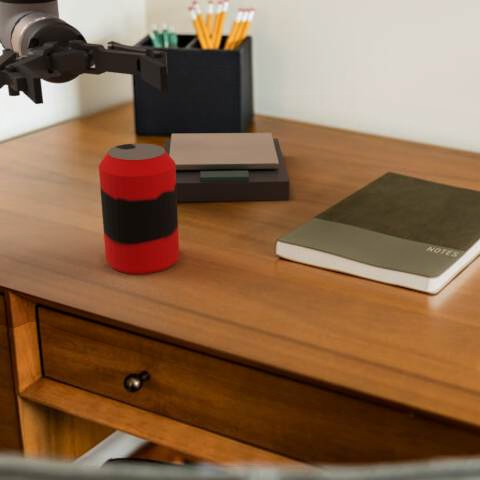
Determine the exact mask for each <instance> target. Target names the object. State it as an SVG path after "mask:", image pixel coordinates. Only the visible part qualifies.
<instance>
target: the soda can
mask: <svg viewBox="0 0 480 480" xmlns="http://www.w3.org/2000/svg"><path fill="white" fill-rule="evenodd" d="M98 174H99V175H98V177H99V189H100V202H101V213H102V225H103V228H102V229H103V240H104V252H105V253H104V255H105V262H106V264H108V265H109V266H110V267H111V268H112V269H113V270H116V271H117V272H119V273H120V272H121V273H124V274H133V275H146V274H153V273H158V272H161V271H162V272H163V271H164V270H167V269H169V268H171V267H172V266H174V265H175V263H176V262H177V261H178V260H179V258H180V237H179V217H178V216H179V215H178V202H177V190H176V167H175V161H174V160H173V159H172V158H171V157H170V156H169V155H168V153H167V152H166V151H165V149H164V146H160V145H158V144H153V143H143V142H142V143H139V142H138V143H137V142H136V143H135V142H134V143H125V144H120V145H116V146H113V147H111V148H109V149H108V150H107V152H106V154H105V155H104V157H103V158H102V159H101V161H100V162H99V164H98Z"/></svg>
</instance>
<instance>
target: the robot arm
mask: <svg viewBox="0 0 480 480" xmlns="http://www.w3.org/2000/svg"><path fill="white" fill-rule="evenodd" d="M0 44H1V47H2V48H3V49H2V50H1V51H2V54H1V55H0V90H1V89H2V88H4V86H7V90H8V96H9V97H18V96H20V95H21V93H20V92H22V93H23V94H24V95H25V96H26V97H27V98H28V99H30V100H31V101H32V102H33V103H34V104H35V105H41V104H44V97H43V88H42V87H43V86H42V81H45V82H48V83H51V84H65V83H69V82H71V81H73V80H75V79H77V77H79V76H80V75H84V74H85V75H86V74H87V75H96V76H100V75H102V74H105V73H115V74H122V75H123V74H124V75H132V76H140V79H141V80H142V81H144V82H145V83H147V84H148V85H151V86H152V87H154V88H156V89H157V90H159V91H160V92H165V91H168V87H169V86H168V57H167V56H168V55H167V52H166V51H163V50H156V49H154V47H149V48H144V47H138V46H132V45H127V44H122V43H120V42H117V41H114V40H111V41H108V42H107V45H106V46H107V47H105V46H104V45H103V44H99V43H98V44H97V43H90V42H88V41H87V40H86V37H84V35H83V33H82V32H81V31H79V30H78V29H77V28H76V27H75V26H73V25H71V24H70V23H67V21H65V20H63V19H62V18H60V11H59V2H58V0H0ZM93 66H94V67H93Z"/></svg>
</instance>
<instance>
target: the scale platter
mask: <svg viewBox="0 0 480 480" xmlns="http://www.w3.org/2000/svg"><path fill="white" fill-rule="evenodd" d="M170 139H171V144H170V153H169V156H170V157H171V158H172V159H173V160H174V161H175V167H176V170H216V169H279V162H278V158H277V154H276V150H275V146H274V142H273V139H274V138H273V134H272V132H220V133H219V132H215V133H214V132H213V133H211V132H210V133H208V132H207V133H203V132H202V133H171V137H170Z"/></svg>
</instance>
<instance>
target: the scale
mask: <svg viewBox="0 0 480 480" xmlns="http://www.w3.org/2000/svg"><path fill="white" fill-rule="evenodd" d="M279 141H280V140H279V139H278V138H273V142H274V146H275V150H276V154H277V158H278V162H279V169H216V170H176V190H177V203H195V202H200V203H201V202H247V201H248V202H249V201H250V202H251V201H252V202H253V201H254V202H255V201H289V200H290V180H289V175H288V172H287V168H286V167H287V166H286V164H285V161H284V156H283V153H282V148H281V144H280V142H279ZM170 144H171V138H170V139H169V138H168V139H167V138H166V139H164V144H163V148H164V149H165V151H166V152H167V153H168V155H169V153H170Z"/></svg>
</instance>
